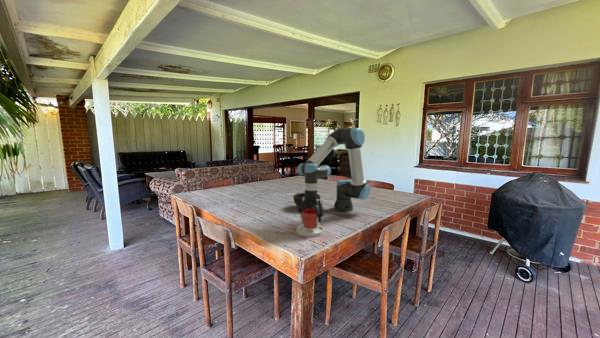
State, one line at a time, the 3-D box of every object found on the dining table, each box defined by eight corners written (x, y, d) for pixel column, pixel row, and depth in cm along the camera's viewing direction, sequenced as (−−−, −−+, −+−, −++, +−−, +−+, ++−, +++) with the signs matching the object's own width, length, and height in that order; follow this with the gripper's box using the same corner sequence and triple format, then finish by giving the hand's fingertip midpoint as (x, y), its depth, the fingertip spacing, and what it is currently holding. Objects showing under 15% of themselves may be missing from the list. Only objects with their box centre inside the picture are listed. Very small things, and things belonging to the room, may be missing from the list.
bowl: (288, 206, 213) (288, 194, 212) (312, 203, 223) (312, 191, 221) (300, 213, 194) (300, 200, 193) (325, 210, 203) (325, 197, 202)
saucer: (306, 224, 170) (306, 222, 170) (329, 230, 161) (329, 227, 160) (291, 232, 156) (291, 229, 156) (315, 238, 147) (315, 235, 147)
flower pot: (303, 230, 152) (303, 214, 150) (300, 224, 162) (300, 209, 161) (321, 229, 154) (321, 213, 152) (316, 223, 164) (316, 208, 163)
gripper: (291, 188, 158) (291, 223, 161) (324, 193, 146) (323, 231, 149) (298, 186, 164) (298, 220, 167) (330, 190, 152) (330, 227, 155)
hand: (310, 225), depth 158 cm, fingers closed on flower pot, 10 cm apart
